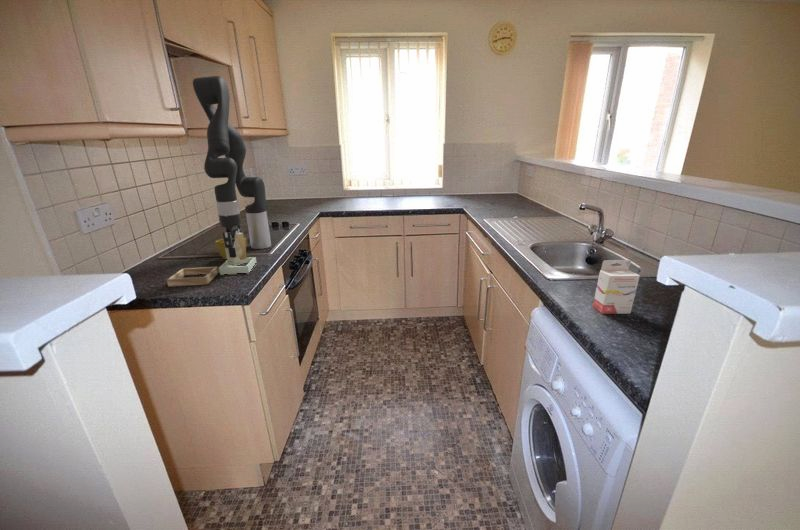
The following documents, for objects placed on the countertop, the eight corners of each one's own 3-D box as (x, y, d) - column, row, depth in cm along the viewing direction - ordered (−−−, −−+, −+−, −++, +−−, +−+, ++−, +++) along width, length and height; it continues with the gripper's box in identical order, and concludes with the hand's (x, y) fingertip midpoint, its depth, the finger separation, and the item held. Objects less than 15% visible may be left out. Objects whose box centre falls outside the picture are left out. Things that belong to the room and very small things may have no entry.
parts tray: (229, 265, 141) (228, 258, 140) (256, 263, 143) (255, 257, 142) (220, 274, 130) (218, 267, 130) (249, 273, 132) (247, 266, 131)
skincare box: (235, 266, 132) (229, 236, 128) (227, 265, 134) (221, 235, 130) (248, 262, 138) (243, 232, 134) (240, 260, 140) (235, 231, 136)
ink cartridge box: (602, 314, 96) (612, 265, 92) (592, 306, 101) (601, 259, 96) (631, 313, 97) (643, 264, 92) (620, 306, 101) (630, 259, 96)
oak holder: (183, 274, 131) (182, 268, 130) (219, 272, 133) (218, 266, 132) (168, 286, 120) (166, 279, 119) (207, 284, 122) (206, 277, 121)
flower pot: (249, 257, 152) (246, 237, 149) (235, 263, 144) (232, 242, 141) (233, 255, 154) (229, 236, 151) (218, 261, 146) (214, 241, 143)
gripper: (225, 210, 135) (232, 249, 141) (211, 216, 122) (219, 260, 127) (244, 209, 136) (251, 248, 142) (233, 216, 123) (240, 259, 128)
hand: (236, 254), depth 135 cm, fingers closed on skincare box, 7 cm apart
